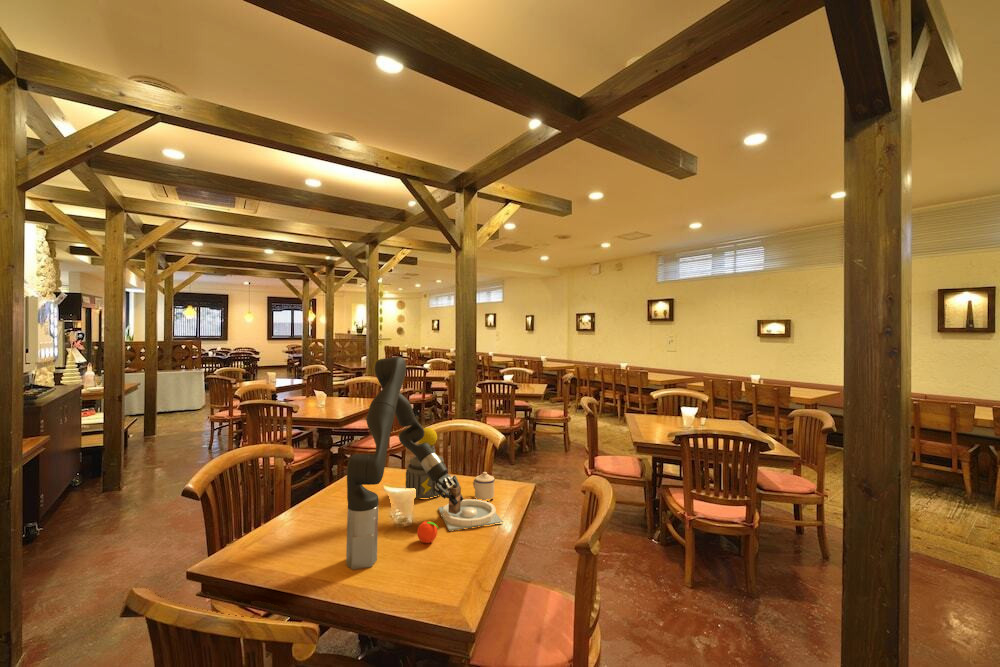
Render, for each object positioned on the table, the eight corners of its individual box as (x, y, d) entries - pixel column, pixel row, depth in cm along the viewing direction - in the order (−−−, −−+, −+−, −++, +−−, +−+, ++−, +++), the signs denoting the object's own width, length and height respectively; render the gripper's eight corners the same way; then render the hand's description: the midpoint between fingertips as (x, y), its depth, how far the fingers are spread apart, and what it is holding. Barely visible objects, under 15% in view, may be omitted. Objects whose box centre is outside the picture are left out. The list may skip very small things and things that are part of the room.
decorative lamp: (406, 486, 194) (407, 424, 195) (445, 484, 198) (446, 423, 199) (404, 501, 176) (405, 432, 177) (447, 499, 179) (448, 431, 180)
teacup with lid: (498, 498, 180) (499, 472, 181) (483, 504, 174) (484, 477, 174) (480, 491, 189) (481, 466, 189) (465, 496, 182) (466, 470, 183)
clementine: (443, 539, 142) (443, 518, 142) (434, 548, 135) (435, 527, 135) (422, 536, 144) (422, 516, 144) (413, 545, 137) (413, 524, 137)
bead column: (460, 510, 160) (460, 483, 160) (455, 514, 157) (456, 486, 157) (453, 509, 161) (453, 482, 161) (448, 512, 158) (449, 484, 158)
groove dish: (502, 524, 154) (502, 516, 154) (449, 531, 147) (449, 523, 147) (486, 503, 174) (486, 496, 174) (438, 509, 167) (438, 502, 167)
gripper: (429, 465, 156) (455, 503, 151) (449, 457, 169) (474, 491, 163) (418, 477, 158) (443, 514, 153) (438, 467, 171) (462, 501, 166)
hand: (459, 502), depth 158 cm, fingers closed on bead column, 3 cm apart
